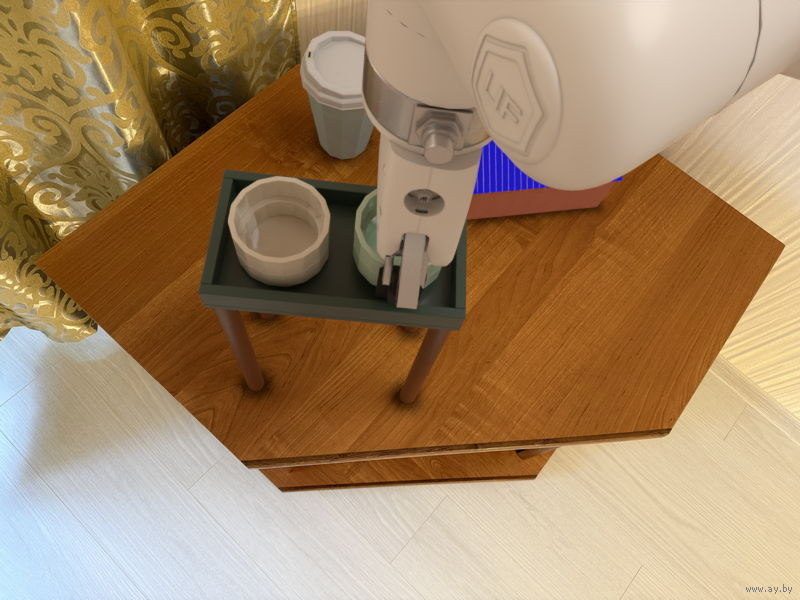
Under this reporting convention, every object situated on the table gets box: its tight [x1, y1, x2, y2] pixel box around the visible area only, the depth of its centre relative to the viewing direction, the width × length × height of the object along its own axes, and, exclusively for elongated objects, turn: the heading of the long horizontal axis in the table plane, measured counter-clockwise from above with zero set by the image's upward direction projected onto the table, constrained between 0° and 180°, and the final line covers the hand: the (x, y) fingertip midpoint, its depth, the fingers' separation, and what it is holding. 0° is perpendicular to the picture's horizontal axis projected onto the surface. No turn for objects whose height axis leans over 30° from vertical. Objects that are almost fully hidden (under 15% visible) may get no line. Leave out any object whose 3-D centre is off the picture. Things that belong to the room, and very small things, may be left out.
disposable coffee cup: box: [299, 30, 375, 160], centre depth 74 cm, size 11×11×15 cm
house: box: [467, 140, 623, 221], centre depth 76 cm, size 12×20×12 cm, turn 100°
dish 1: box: [228, 175, 330, 287], centre depth 44 cm, size 7×7×4 cm
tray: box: [197, 168, 468, 405], centre depth 57 cm, size 11×19×27 cm, turn 87°
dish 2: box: [353, 189, 443, 288], centre depth 44 cm, size 7×7×4 cm
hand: (400, 249), depth 45 cm, fingers closed on dish 2, 7 cm apart
